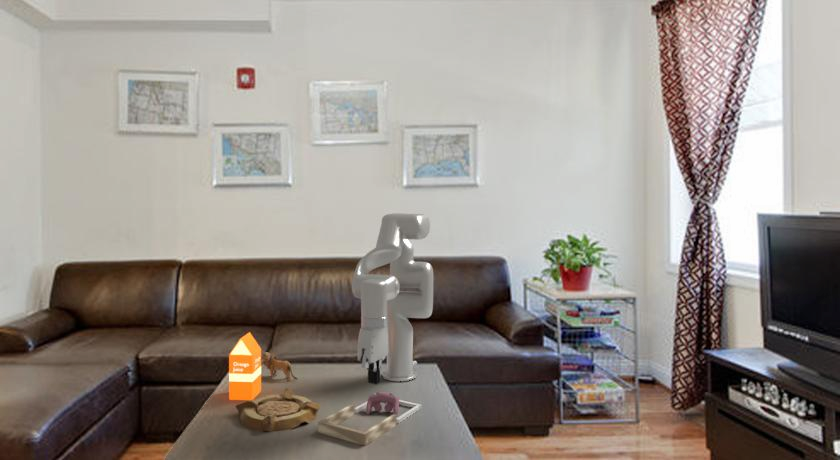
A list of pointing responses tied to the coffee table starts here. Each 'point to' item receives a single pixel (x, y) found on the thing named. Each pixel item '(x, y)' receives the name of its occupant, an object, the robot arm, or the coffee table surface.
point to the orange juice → (245, 369)
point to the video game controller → (383, 397)
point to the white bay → (404, 403)
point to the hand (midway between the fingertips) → (373, 382)
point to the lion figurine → (276, 365)
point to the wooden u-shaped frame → (352, 435)
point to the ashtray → (277, 412)
